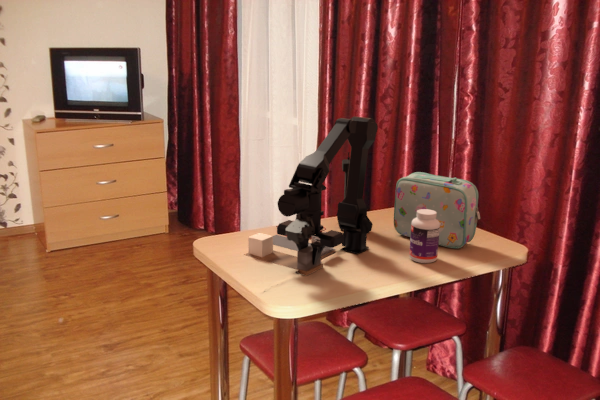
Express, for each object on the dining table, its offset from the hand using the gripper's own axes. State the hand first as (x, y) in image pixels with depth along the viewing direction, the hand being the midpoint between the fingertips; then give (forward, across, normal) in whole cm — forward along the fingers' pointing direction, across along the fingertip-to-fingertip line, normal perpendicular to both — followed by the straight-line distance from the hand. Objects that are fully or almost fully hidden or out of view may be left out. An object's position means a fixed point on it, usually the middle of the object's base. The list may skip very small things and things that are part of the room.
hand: (309, 263), depth 173 cm
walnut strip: (+2, -9, 0) cm, 9 cm away
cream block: (+1, -17, 0) cm, 17 cm away
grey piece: (+2, -13, +12) cm, 18 cm away
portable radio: (+2, -11, +39) cm, 40 cm away
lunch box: (+2, +16, +45) cm, 48 cm away
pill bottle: (+2, +21, +27) cm, 34 cm away
